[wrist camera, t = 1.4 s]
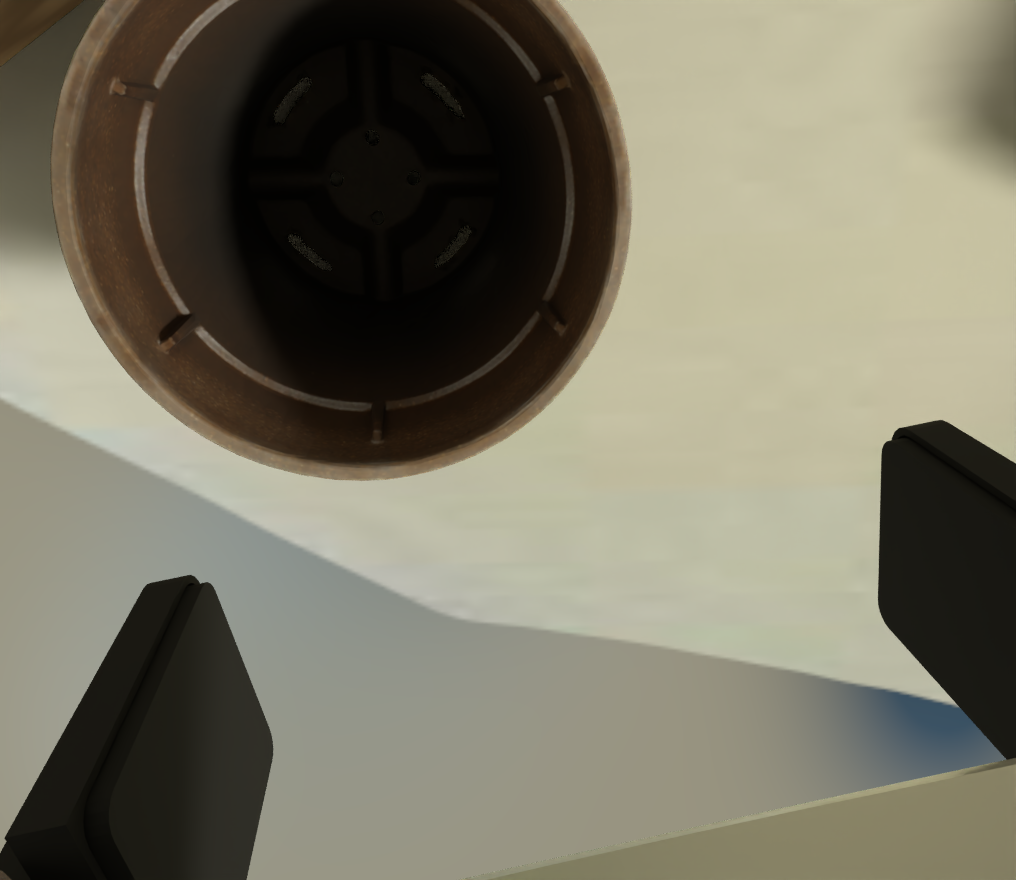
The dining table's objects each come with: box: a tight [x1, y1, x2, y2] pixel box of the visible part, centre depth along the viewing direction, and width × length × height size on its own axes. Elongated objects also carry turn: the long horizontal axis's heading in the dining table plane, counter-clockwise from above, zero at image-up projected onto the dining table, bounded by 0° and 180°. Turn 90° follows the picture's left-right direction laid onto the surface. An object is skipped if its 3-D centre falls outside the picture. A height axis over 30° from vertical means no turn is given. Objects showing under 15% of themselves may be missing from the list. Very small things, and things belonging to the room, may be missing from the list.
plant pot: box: [51, 0, 632, 481], centre depth 30 cm, size 16×16×16 cm
